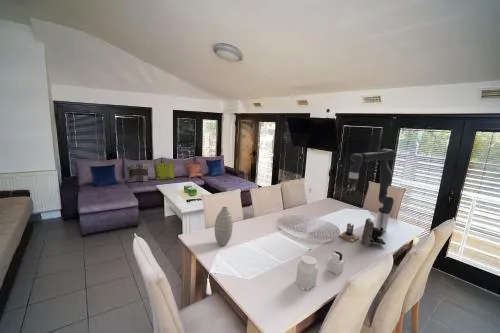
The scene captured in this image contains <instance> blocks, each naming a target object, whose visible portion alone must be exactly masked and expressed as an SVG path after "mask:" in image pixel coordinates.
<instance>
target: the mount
mask: <svg viewBox="0 0 500 333" xmlns="http://www.w3.org/2000/svg"><path fill="white" fill-rule="evenodd" d="M338 235H339V234H338ZM338 238H341V239H343V240H345V241H348V242H349V243H352V244H353V243H354V242H356V241H358V240H359V239H360V237H359V236H357V235H355V233H354V232H353V234H352V236H349V235H347V234H346V230H345V231H343V232H342V233H340V235H339V237H338Z"/></svg>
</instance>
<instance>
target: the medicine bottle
mask: <svg viewBox="0 0 500 333" xmlns="http://www.w3.org/2000/svg"><path fill="white" fill-rule="evenodd" d="M327 261H328V262H327V268H326V269H327V270H328V271H329V270H330V271H329V272H331V271H332V272H331V273H333V274H334V273H335V275H336V274H337V275H339V274H341V273H343V271H344V265H345V261H344V260H343V253H342V252H340V251H336V250H334V251H332V252H331V257H330V258H328V260H327ZM340 272H341V273H340Z"/></svg>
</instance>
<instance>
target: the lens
mask: <svg viewBox="0 0 500 333" xmlns="http://www.w3.org/2000/svg"><path fill="white" fill-rule="evenodd" d="M345 231H346V234H347V235H349V236H352V234H353V233H354V224H353V223H347V224H346V230H345Z"/></svg>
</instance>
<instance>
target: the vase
mask: <svg viewBox="0 0 500 333" xmlns="http://www.w3.org/2000/svg"><path fill="white" fill-rule="evenodd" d="M214 222H215V223H214V238H215V240H216V242H217V244H218V245H219V246H220V247H225V246H227V244H228V243H229V242H230V240H231V238H232V235H233V228H234V227H233V217H232V215H231V213H230V211H229V209H228V207H227V206H222V207H221V209H220V211H219V212H218V214H217V215H216V219H215V221H214Z"/></svg>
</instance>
